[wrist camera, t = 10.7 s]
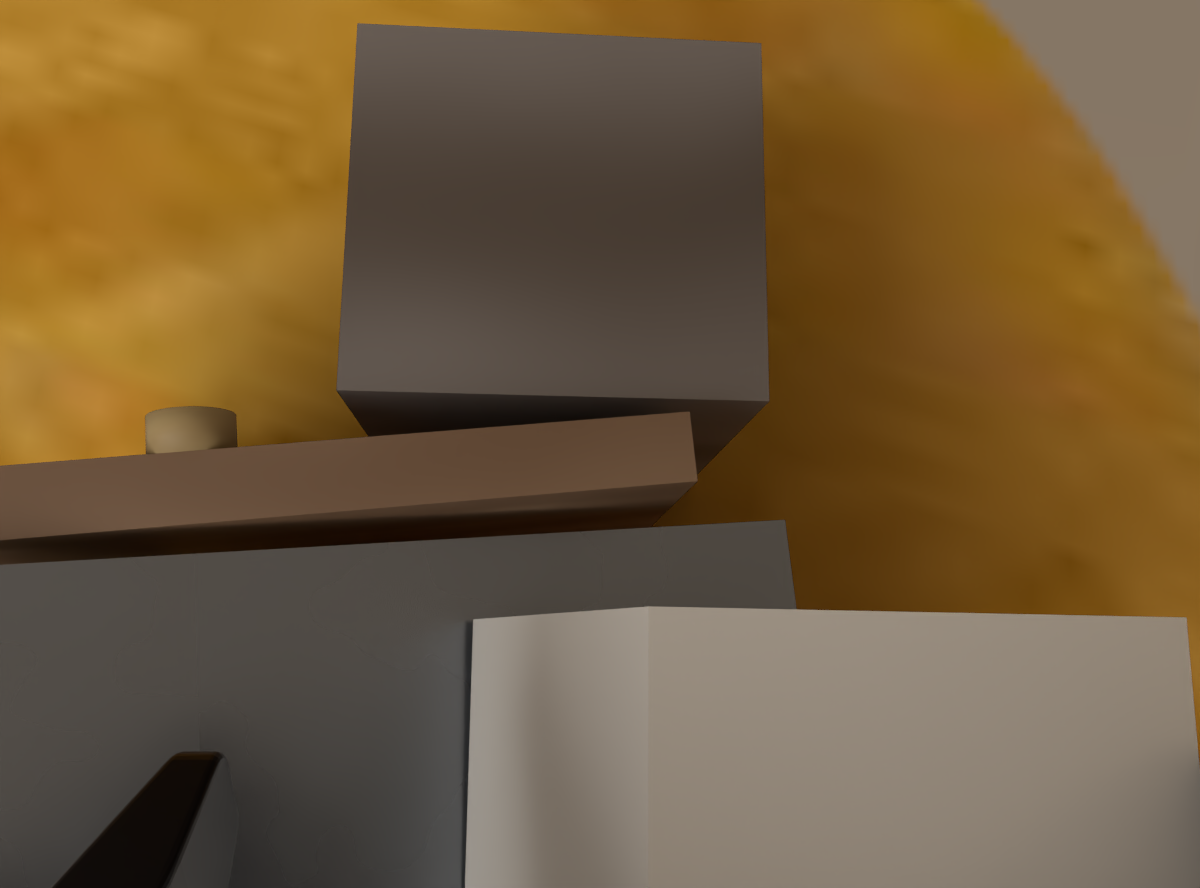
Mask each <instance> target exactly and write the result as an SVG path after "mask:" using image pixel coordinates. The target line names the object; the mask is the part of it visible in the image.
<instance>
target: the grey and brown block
mask: <svg viewBox="0 0 1200 888" xmlns="http://www.w3.org/2000/svg"><path fill="white" fill-rule="evenodd" d="M648 606H651V607H700V608H748V609H796V601H795V593H794V585H793V578H792V570H791V562H790V554H789V547H788V539H787V531H786V523H785V520H772V521H755V522H737V523H720V524H702V525H685V526H668V527H650V528H633V529H615V530H598V531H581V532H563V533H546V534H528V535H511V536H494V537H476V538H459V539H442V540H424V541H407V542H389V543H372V544H355V545H337V546H320V547H302V548H285V549H268V550H250V551H233V552H215V553H198V554H181V555H163V556H146V557H128V558H111V559H94V560H76V561H59V562H42V563H24V564H7V565H0V888H50V887H51V886H52V885H53V884H54V883H55V882H56V881H57V880H58V879H59V877H60V876H61V875H62V874H63V873H64V872H65V871H66V870H67V869H68V868H69V867H70V866H71V864H72V863H73V862H74V861H75V860H76V859H77V858H78V857H79V856H80V855H81V854H82V853H83V851H84V850H85V849H86V848H87V847H88V846H89V845H90V844H91V843H92V842H93V841H94V840H95V838H96V837H97V836H98V835H99V834H100V833H101V832H102V831H103V830H104V829H105V828H106V827H107V825H108V824H109V823H110V822H111V821H112V820H113V819H114V818H115V817H116V816H117V815H118V813H119V812H120V811H121V810H122V809H123V808H124V807H125V806H126V805H127V804H128V803H129V802H130V800H131V799H132V798H133V797H134V796H135V795H136V794H137V793H138V792H139V791H140V790H141V789H142V787H143V786H144V785H145V784H146V783H147V782H148V781H149V780H150V779H151V778H152V777H153V776H154V774H155V773H156V772H157V771H158V770H159V769H160V768H161V767H162V766H163V765H164V764H165V763H166V761H167V760H168V759H169V758H170V757H172V756H173V755H175V754H177V753H179V752H184V751H217V752H221V753H222V754H224V756H225V757H226V759H227V761H228V765H229V770H230V775H231V780H232V785H233V790H234V795H235V799H236V804H237V810H238V832H237V839H236V845H235V851H234V857H233V862H232V868H231V874H230V879H229V885H228V888H465V869H466V836H467V804H468V772H469V739H470V707H471V675H472V642H473V619H485V618H499V617H512V616H526V615H540V614H553V613H567V612H580V611H594V610H607V609H621V608H634V607H648Z"/></svg>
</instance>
